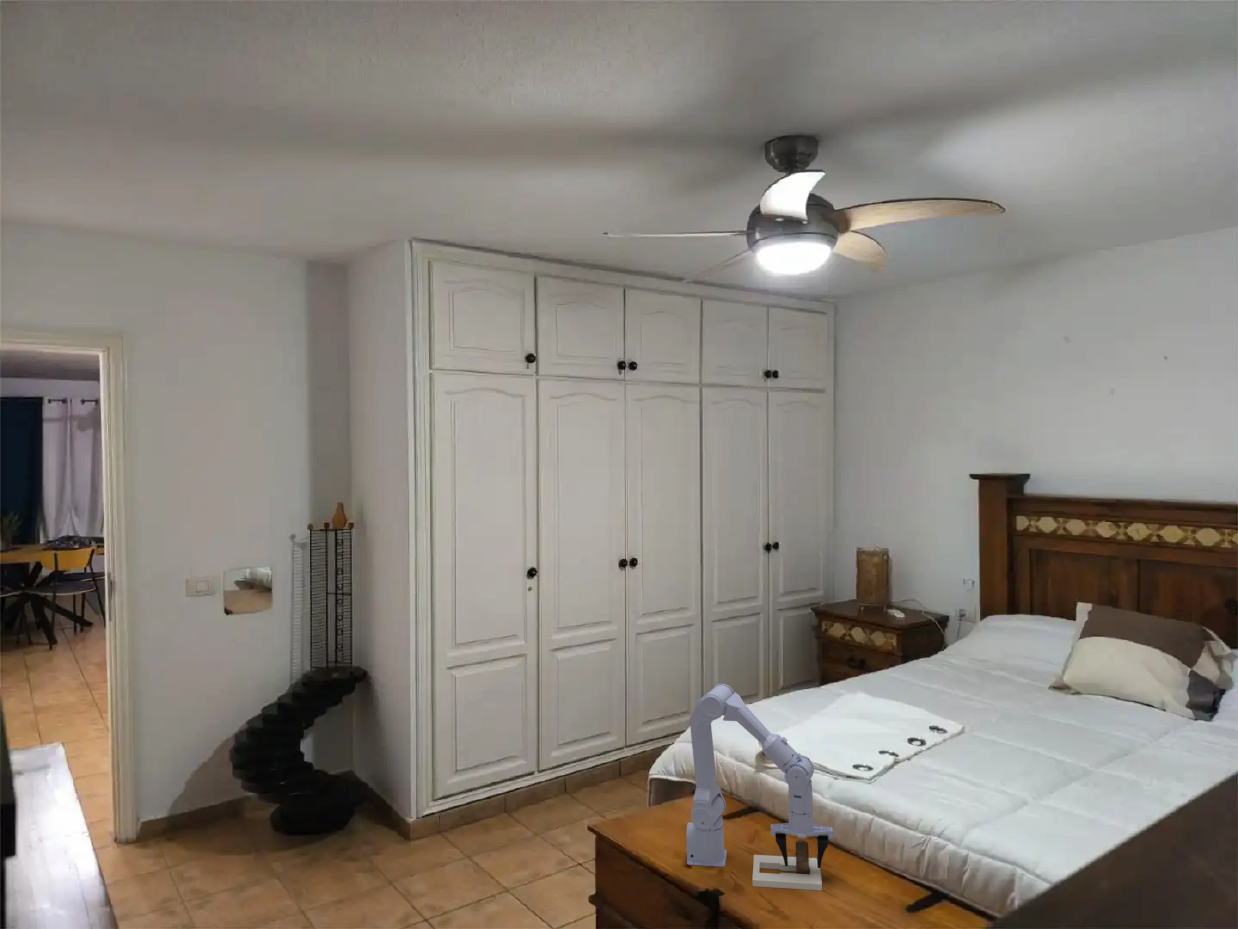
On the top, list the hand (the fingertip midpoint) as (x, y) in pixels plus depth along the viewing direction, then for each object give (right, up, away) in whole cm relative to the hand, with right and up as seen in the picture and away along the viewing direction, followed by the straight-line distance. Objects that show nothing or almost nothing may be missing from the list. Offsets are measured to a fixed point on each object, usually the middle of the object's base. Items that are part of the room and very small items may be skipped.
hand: (802, 865), depth 201 cm
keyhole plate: (-4, -3, +1) cm, 5 cm away
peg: (0, -3, 0) cm, 3 cm away
